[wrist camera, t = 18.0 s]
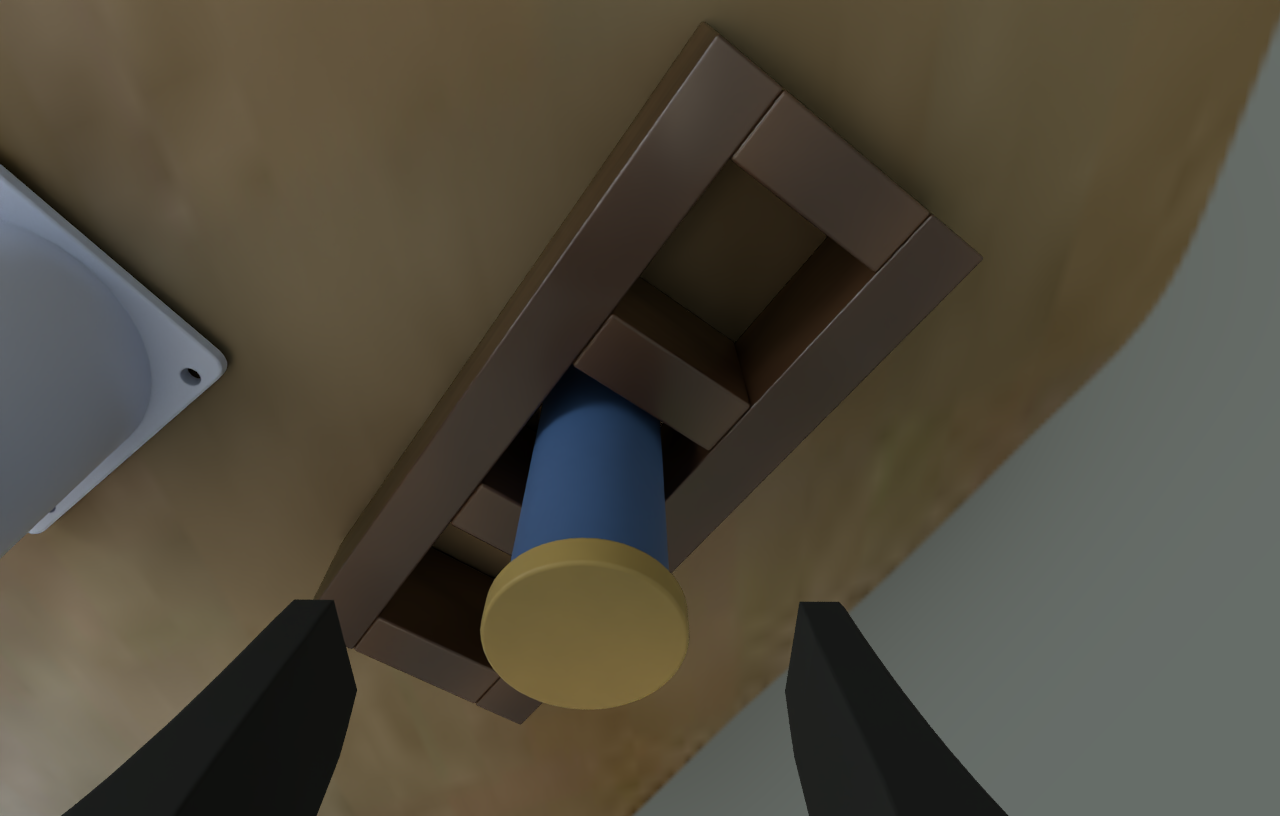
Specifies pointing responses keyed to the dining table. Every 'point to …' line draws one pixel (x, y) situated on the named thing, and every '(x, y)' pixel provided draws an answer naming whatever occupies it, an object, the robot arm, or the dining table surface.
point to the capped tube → (589, 560)
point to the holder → (646, 356)
